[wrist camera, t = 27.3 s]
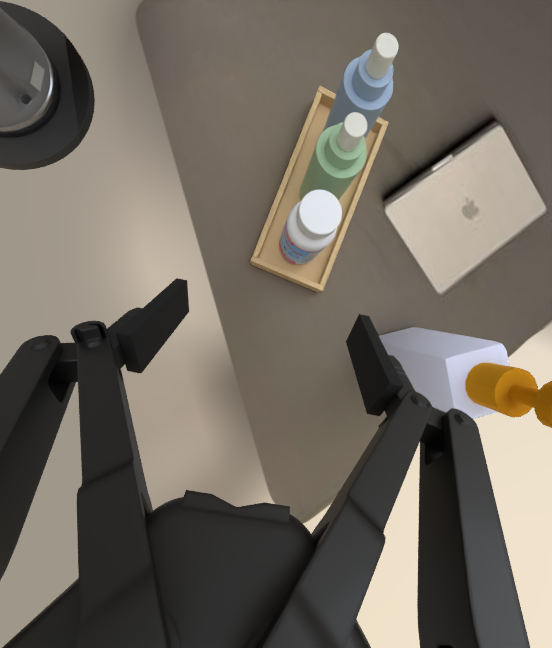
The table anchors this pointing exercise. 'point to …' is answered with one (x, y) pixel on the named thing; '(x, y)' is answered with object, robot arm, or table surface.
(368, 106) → the blue-grey bottle
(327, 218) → the pill bottle
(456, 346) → the soap bottle
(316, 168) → the green bottle
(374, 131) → the tray
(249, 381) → the table surface
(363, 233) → the table surface
